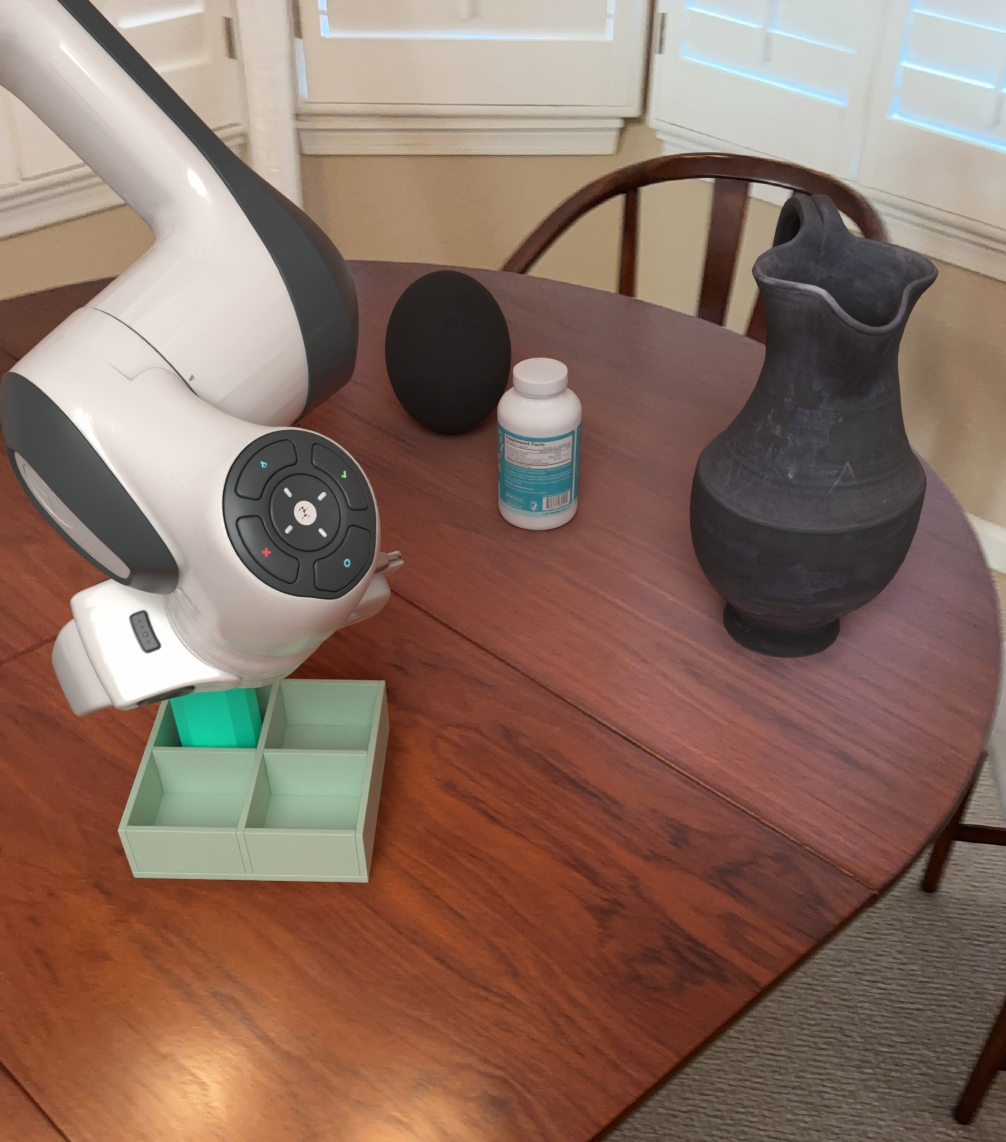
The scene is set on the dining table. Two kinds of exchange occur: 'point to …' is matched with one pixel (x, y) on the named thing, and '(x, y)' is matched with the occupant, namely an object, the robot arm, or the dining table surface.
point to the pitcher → (815, 440)
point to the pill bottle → (539, 446)
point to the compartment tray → (266, 791)
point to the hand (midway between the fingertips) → (211, 654)
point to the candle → (218, 719)
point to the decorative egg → (448, 351)
